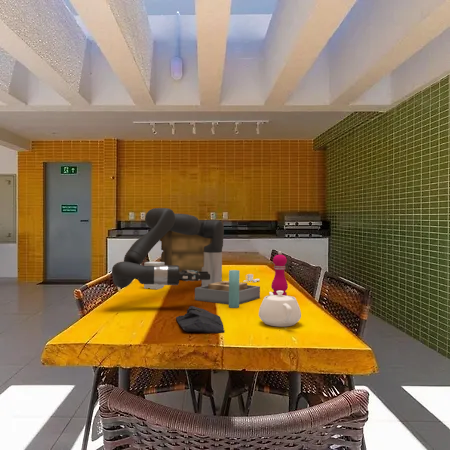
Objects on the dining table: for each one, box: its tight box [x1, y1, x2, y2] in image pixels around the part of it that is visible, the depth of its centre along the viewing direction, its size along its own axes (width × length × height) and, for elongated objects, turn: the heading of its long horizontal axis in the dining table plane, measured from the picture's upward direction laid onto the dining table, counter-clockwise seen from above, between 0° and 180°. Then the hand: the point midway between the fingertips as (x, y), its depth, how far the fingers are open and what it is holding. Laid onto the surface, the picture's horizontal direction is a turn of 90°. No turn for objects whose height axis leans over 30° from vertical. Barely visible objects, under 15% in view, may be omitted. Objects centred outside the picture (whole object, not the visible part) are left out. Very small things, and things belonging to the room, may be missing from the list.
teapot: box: [258, 291, 302, 328], centre depth 145 cm, size 22×14×11 cm, turn 10°
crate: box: [159, 220, 225, 272], centre depth 257 cm, size 35×35×33 cm
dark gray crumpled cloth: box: [175, 305, 225, 334], centre depth 141 cm, size 15×22×5 cm
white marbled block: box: [143, 261, 165, 290], centre depth 215 cm, size 7×7×13 cm
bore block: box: [208, 280, 248, 291], centre depth 187 cm, size 12×12×6 cm
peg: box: [228, 269, 240, 309], centre depth 171 cm, size 4×4×14 cm
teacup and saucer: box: [243, 273, 261, 283], centre depth 242 cm, size 9×8×4 cm
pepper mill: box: [270, 250, 289, 296], centre depth 195 cm, size 7×7×20 cm
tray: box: [194, 284, 261, 305], centre depth 187 cm, size 20×20×5 cm
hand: (209, 275), depth 169 cm, fingers open, 8 cm apart
